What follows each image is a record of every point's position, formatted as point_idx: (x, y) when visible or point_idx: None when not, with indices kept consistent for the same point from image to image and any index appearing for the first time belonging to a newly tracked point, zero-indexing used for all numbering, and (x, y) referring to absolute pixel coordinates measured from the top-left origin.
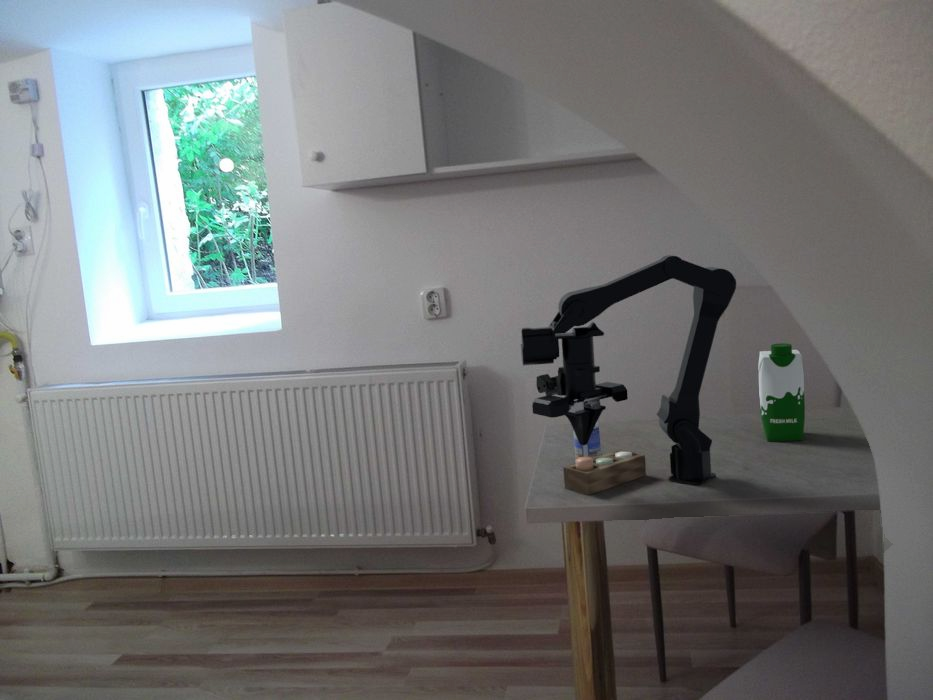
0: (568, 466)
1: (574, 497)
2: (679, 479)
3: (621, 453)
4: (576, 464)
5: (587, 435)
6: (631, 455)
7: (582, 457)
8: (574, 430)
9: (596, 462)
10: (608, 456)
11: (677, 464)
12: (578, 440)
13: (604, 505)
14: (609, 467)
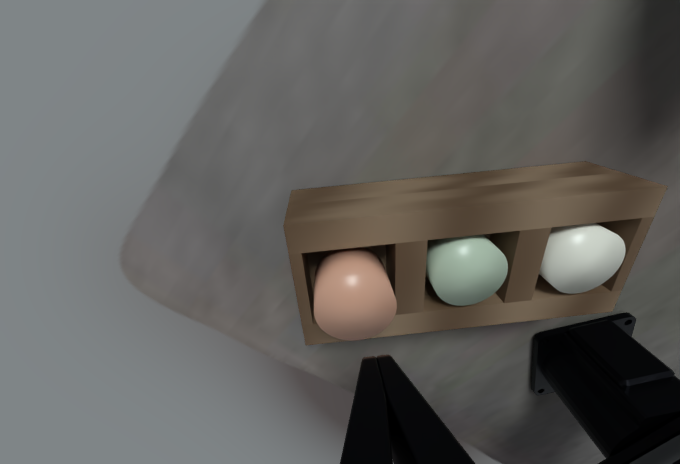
0: (309, 231)
1: (264, 280)
2: (539, 361)
3: (589, 254)
4: (314, 294)
5: (393, 457)
6: (587, 286)
7: (373, 283)
8: (341, 461)
9: (436, 264)
10: (535, 236)
11: (577, 387)
12: (358, 379)
13: (291, 363)
14: (420, 330)
